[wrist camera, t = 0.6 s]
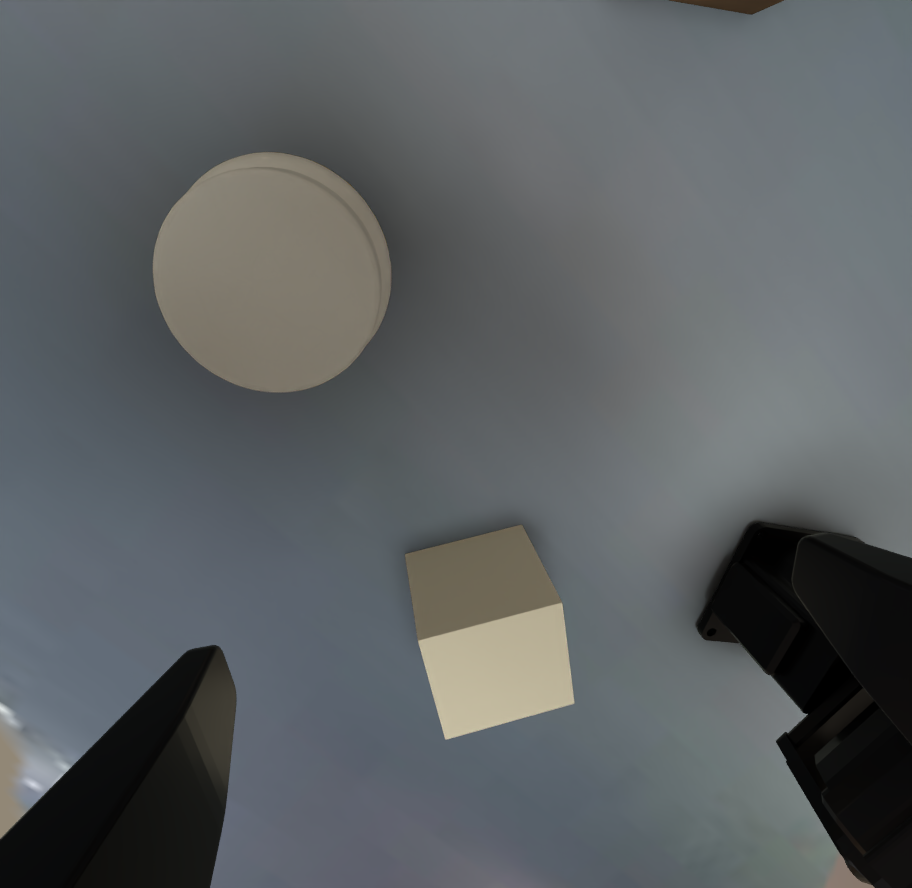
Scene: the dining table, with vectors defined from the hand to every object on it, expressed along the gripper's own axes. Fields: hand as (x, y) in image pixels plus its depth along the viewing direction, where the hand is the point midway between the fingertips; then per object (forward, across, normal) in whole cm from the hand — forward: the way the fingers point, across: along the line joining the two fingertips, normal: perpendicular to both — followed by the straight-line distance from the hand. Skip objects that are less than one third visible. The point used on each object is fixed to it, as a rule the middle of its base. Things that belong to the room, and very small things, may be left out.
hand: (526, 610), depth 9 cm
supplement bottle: (+13, +4, -5) cm, 14 cm away
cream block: (+13, -1, +10) cm, 16 cm away
